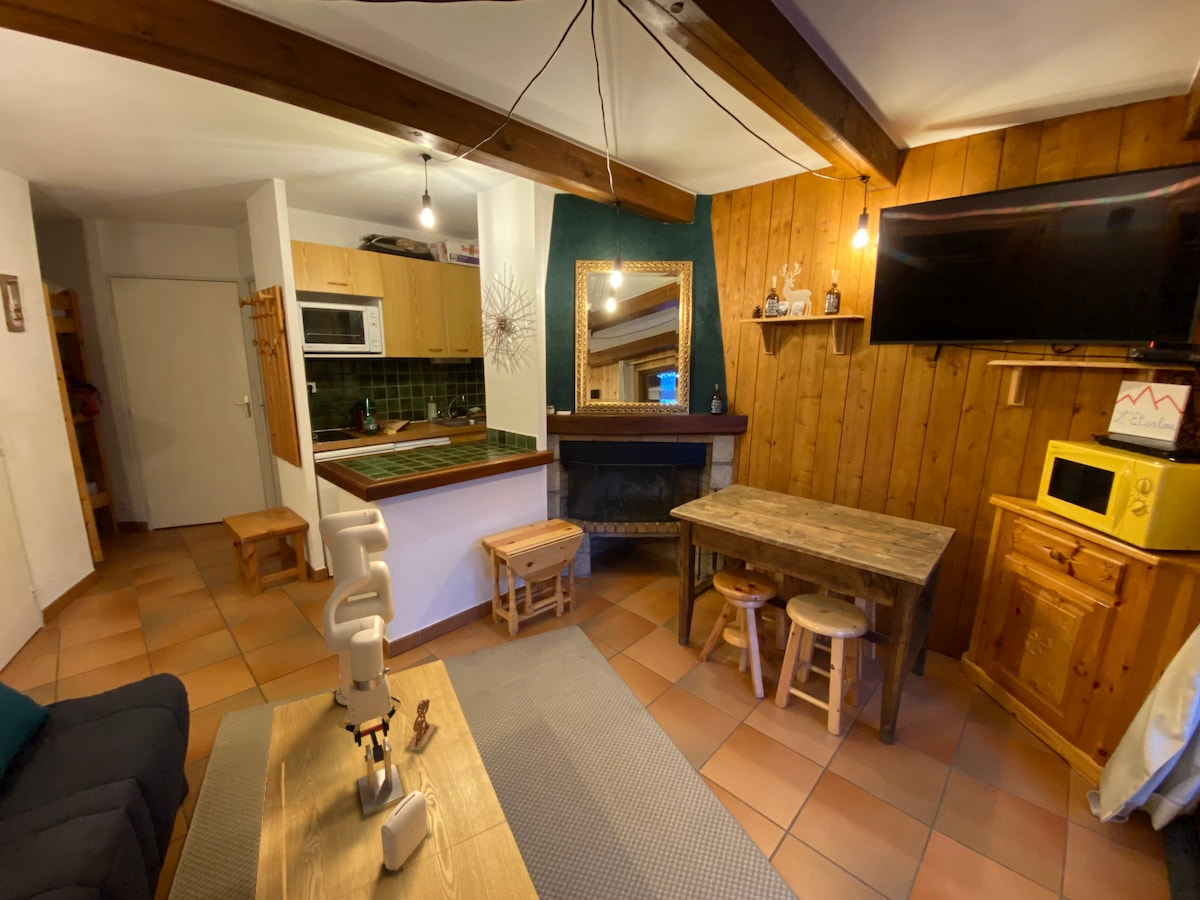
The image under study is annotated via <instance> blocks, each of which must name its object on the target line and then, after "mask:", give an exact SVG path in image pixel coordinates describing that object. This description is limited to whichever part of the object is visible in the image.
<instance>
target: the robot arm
mask: <svg viewBox="0 0 1200 900" xmlns="http://www.w3.org/2000/svg"><path fill="white" fill-rule="evenodd" d="M318 532H319V533H320V537H321V539H322V541H323V543H324V544H325V546H326V548H327V549H328V553H329V554H330V558H331V559H330V560H331V569H332V577H333V586H334V590H333V592H332V593H331V594H330V596H329V597H328V599H327V601H326V603H325V605H324V609H323V614H322V623H323V624H322V625H323V626H322V627H323V635H324V636H323V637H324V644H325V647H326V651H327V652H328V653H329V654H331V655H337V656H338V666H339V668H338V669H339V675H338V676H337V680H338V681H339V682H340V687H338V689H337V691H336V693H335V700H336V701H337V703H338V704H340V705H343V706H347V710H346V711H345V713H344V714H343V716H342V717H340V719H339V721H338V722H337V727H338V728H339V729H342V730H345V731H347V732H350V733H352V734H353V740H354V743H355V744H357V746H358V748H360V747H361V746H362V744H363V743H362V738H361V732H360V731H361V729H360V728H361V725H362V724H364V723H366V722H369V721H373V720H375V719H378V718H380V717H382V718H381V724H382V723H383V728H384V729H383V730H382V733H383V737H384V738H388V731H390V722H391V719H392V718H393V716H394V715H395V714H396V712H397V711H398V710H399V709H400V708H401V707H402V702H401V700H399V699H398V698H396V697H394V696H392V694H391V689H390V683H389V679H388V676H387V674H390V673H391V668H390V666H388V667H385V666H384V652H383V651H384V650H383V641H384V636H385V634H386V625H387V624H390V623H391V622H392V621H393V620H394V617H395V605H394V597H393V589H392V588H393V587H392V580H391V574H390V569H389V566H388V564H387V563H386V562H385V561H382V560H373V561H370V557H369V555H370V554H375V553H381V552H385V551H386V550H387V549H388V547H389V544H390V536H389V530H388V527H387V524H386V522H385V519H384V517H383V515H382V512H381V511H380V509H377V508H365V509H358V510H350V511H343V512H335V513H330V514H327V515H324V516H323V517H321V518H320V519H319V521H318ZM370 593H375V594H376V595H372V596H368V597H363V598H362V597H361V598H358V599H353V600H349V601H345V602H342V601H343V600H345V599H346V598H351V597H357V596H361V595H365V594H370ZM341 602H342V603H341ZM338 690H339V691H338Z"/></svg>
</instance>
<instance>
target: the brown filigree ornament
mask: <svg viewBox="0 0 1200 900" xmlns="http://www.w3.org/2000/svg"><path fill="white" fill-rule="evenodd" d="M429 708H430V699H428V698H426V699H421V700H420V701H419V702H418V705H417V708H416V714H417V716H416V718H415V720H414V723H413V729H412V731H413V733H416V735H415V736H414V737H413V739H412V741H411V742H410V744H409V745H408V747H410V748H415V749H421V748H422V747H423V745H424V744H425V742H426V740H427V739H428V737H429V736H430V734H432V731H433V730H434V729H435V727H436V725H435V724H429V722H428V721H427V719H426V718H427V717H426V714H427V713H428V711H429ZM419 719H420V720H419Z"/></svg>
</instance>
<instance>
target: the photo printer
mask: <svg viewBox="0 0 1200 900" xmlns="http://www.w3.org/2000/svg"><path fill="white" fill-rule="evenodd" d="M427 816H428V814H427V799H426V797H425V794H423V792H422V791H419V790H418V789H417V790H414V791H412V792H411V793H409V794H408V795H407V796H405V798H403V799H402V800H401V801H400V802H399V803H398V804H397V805H396V806H395V808H394V809H392V811H391V812H390V814H389V815H388V816H387V817H386V818H385V820H384V822H383V824H382V826H381V829H380V833H381V834H380V835H381V847H382V859H383V860H382V861H383V864H384V866H385V868H386V869H387V870H390V871H393V870H394V871H397V870H398V869H399V868H400V867H401V866H402V865H403V864H404V863H405V862H406V860H407V859H408V858H409V857H410V856H411V855H412V853H414V851H415V850H416V849H417V848H418V846H419V845H420V844H421V843H422V841H424V839H425V837H426V835H428V817H427Z"/></svg>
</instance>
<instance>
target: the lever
mask: <svg viewBox="0 0 1200 900" xmlns="http://www.w3.org/2000/svg"><path fill="white" fill-rule="evenodd" d="M383 729H384V728H383V723H382V722H381V723H378V724H375V725H373V726H371V727H368V728H365V729H363V730H360V732H361V739H362V738H364V737H368V736H370V740H371V744H372V747H371V752H372V756H373V764H377V763H379V762H382V761H384V751H383V743H381V744H379V740H378V738H377V732H380V731H381V732H382V731H383Z"/></svg>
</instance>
